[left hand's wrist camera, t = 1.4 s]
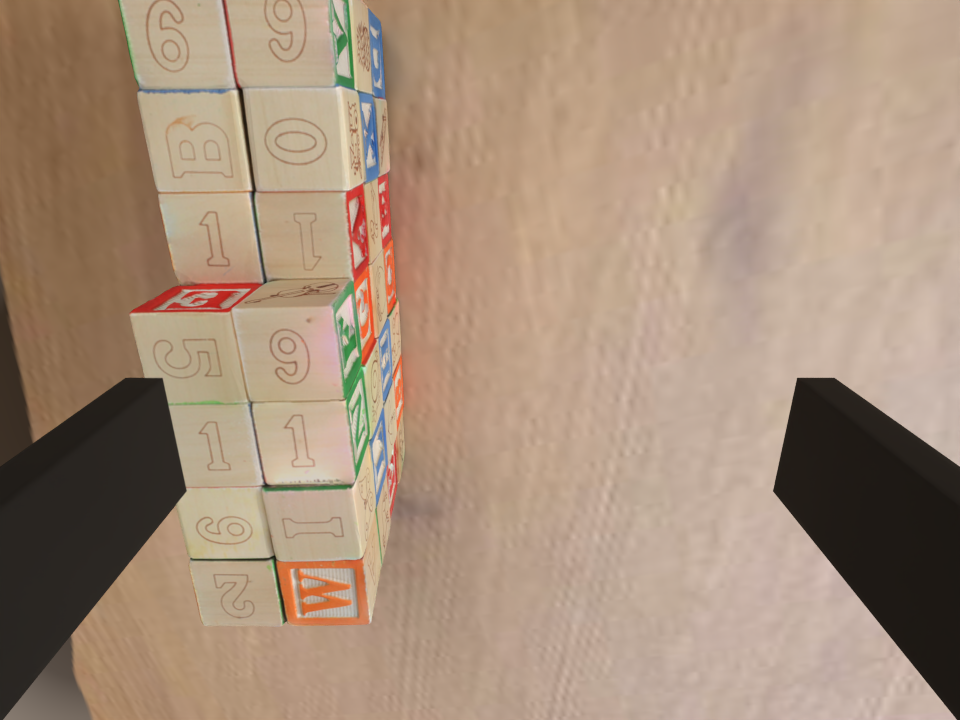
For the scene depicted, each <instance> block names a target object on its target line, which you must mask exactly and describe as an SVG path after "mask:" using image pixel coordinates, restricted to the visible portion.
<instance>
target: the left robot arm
mask: <svg viewBox="0 0 960 720" xmlns="http://www.w3.org/2000/svg"><path fill="white" fill-rule="evenodd" d="M186 492H187V490H186V485H185V480H184V475H183V471H182V466H181V461H180V457H179V452H178V447H177V443H176V438H175V433H174V429H173V424H172V419H171V414H170V410H169V405H168V400H167V396H166V391H165V386H164V382H163V378H125V379H123V380H122V381H121V382H119V383H118V384H116V385H115V386H114V387H112V388H111V389H109V390H108V391H106V392H105V393H104V394H102V395H101V396H99V397H98V398H97V399H95V400H94V401H92V402H91V403H90V404H88V405H87V406H85V407H84V408H82V409H81V410H80V411H78V412H77V413H75V414H74V415H73V416H71V417H70V418H68V419H67V420H66V421H64V422H63V423H61V424H60V425H58V426H57V427H56V428H54V429H53V430H51V431H50V432H49V433H47V434H46V435H44V436H43V437H42V438H40V439H39V440H37V441H36V442H34V443H33V444H32V445H30V446H29V447H27V448H26V449H25V450H23V451H22V452H20V453H19V454H18V455H16V456H15V457H13V458H12V459H10V460H9V461H8V462H6V463H5V464H3V465H2V466H1V467H0V720H3V719H4V718H5V716H6V715H7V714H8V713H9V711H10V710H11V709H12V708H13V706H14V705H15V704H16V703H17V702H18V700H19V699H20V698H21V697H22V695H23V694H24V693H25V692H26V690H27V689H28V688H29V687H30V685H31V684H32V683H33V682H34V680H35V679H36V678H37V677H38V675H39V674H40V673H41V672H42V670H43V669H44V668H45V667H46V666H47V664H48V663H49V662H50V661H51V659H52V658H53V657H54V656H55V654H56V653H57V652H58V651H59V649H60V648H61V647H62V646H63V644H64V643H65V642H66V641H67V639H68V638H69V637H70V636H71V634H72V633H73V632H74V631H75V629H76V628H77V627H78V626H79V625H80V623H81V622H82V621H83V620H84V618H85V617H86V616H87V615H88V613H89V612H90V611H91V610H92V608H93V607H94V606H95V605H96V603H97V602H98V601H99V600H100V598H101V597H102V596H103V595H104V593H105V592H106V591H107V590H108V588H109V587H110V586H111V585H112V584H113V582H114V581H115V580H116V579H117V577H118V576H119V575H120V574H121V572H122V571H123V570H124V569H125V567H126V566H127V565H128V564H129V562H130V561H131V560H132V559H133V557H134V556H135V555H136V554H137V552H138V551H139V550H140V549H141V547H142V546H143V545H144V544H145V543H146V541H147V540H148V539H149V538H150V536H151V535H152V534H153V533H154V531H155V530H156V529H157V528H158V526H159V525H160V524H161V523H162V521H163V520H164V519H165V518H166V516H167V515H168V514H169V513H170V511H171V510H172V509H173V508H174V506H175V505H176V504H177V503H178V502H179V500H180V499H181V498H182V497H183V495H184V494H185V493H186ZM773 492H774V493H775V494H776V495H777V497H778V498H779V499H780V500H781V502H782V503H783V504H784V505H785V507H786V508H787V509H788V510H789V511H790V513H791V514H792V515H793V516H794V518H795V519H796V520H797V521H798V523H799V524H800V525H801V526H802V528H803V529H804V530H805V531H806V533H807V534H808V535H809V536H810V538H811V539H812V540H813V541H814V543H815V544H816V545H817V546H818V547H819V549H820V550H821V551H822V552H823V554H824V555H825V556H826V557H827V559H828V560H829V561H830V562H831V564H832V565H833V566H834V567H835V569H836V570H837V571H838V572H839V574H840V575H841V576H842V577H843V579H844V580H845V581H846V582H847V584H848V585H849V586H850V587H851V588H852V590H853V591H854V592H855V593H856V595H857V596H858V597H859V598H860V600H861V601H862V602H863V603H864V605H865V606H866V607H867V608H868V610H869V611H870V612H871V613H872V615H873V616H874V617H875V618H876V620H877V621H878V622H879V623H880V625H881V626H882V627H883V628H884V629H885V631H886V632H887V633H888V634H889V636H890V637H891V638H892V639H893V641H894V642H895V643H896V644H897V646H898V647H899V648H900V649H901V651H902V652H903V653H904V654H905V656H906V657H907V658H908V659H909V661H910V662H911V663H912V664H913V666H914V667H915V668H916V669H917V670H918V672H919V673H920V674H921V675H922V677H923V678H924V679H925V680H926V682H927V683H928V684H929V685H930V687H931V688H932V689H933V690H934V692H935V693H936V694H937V695H938V697H939V698H940V699H941V700H942V702H943V703H944V704H945V705H946V707H947V708H948V709H949V710H950V711H951V713H952V714H953V715H954V716H955V718H956V719H957V720H960V467H959V466H958V465H957V464H955V463H954V462H952V461H951V460H950V459H948V458H947V457H945V456H944V455H942V454H941V453H940V452H938V451H937V450H935V449H934V448H933V447H931V446H930V445H928V444H927V443H926V442H924V441H923V440H921V439H920V438H918V437H917V436H916V435H914V434H913V433H911V432H910V431H909V430H907V429H906V428H904V427H903V426H902V425H900V424H899V423H897V422H896V421H894V420H893V419H892V418H890V417H889V416H887V415H886V414H885V413H883V412H882V411H880V410H879V409H878V408H876V407H875V406H873V405H872V404H870V403H869V402H868V401H866V400H865V399H863V398H862V397H861V396H859V395H858V394H856V393H855V392H854V391H852V390H851V389H849V388H848V387H846V386H845V385H844V384H842V383H841V382H839V381H838V380H837V379H835V378H797V382H796V386H795V391H794V396H793V400H792V405H791V410H790V414H789V419H788V424H787V429H786V433H785V438H784V443H783V447H782V452H781V457H780V461H779V466H778V471H777V475H776V480H775V485H774V490H773Z"/></svg>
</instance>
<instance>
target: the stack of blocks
mask: <svg viewBox="0 0 960 720" xmlns="http://www.w3.org/2000/svg"><path fill="white" fill-rule="evenodd" d="M118 2H119V6H120V11H121V16H122V20H123V25H124V29H125V34H126V38H127V44H128V49H129V54H130V58H131V63H132V66H133V70H134V76H135V79H136V81H137V84H138V86H139V88H140V89H139V90H138V92H137V99H138V105H139V109H140V113H141V118H142V123H143V128H144V133H145V138H146V143H147V147H148V152H149V156H150V161H151V165H152V171H153V176H154V181H155V185H156V188H157V190H158V192H159V194H158V201H159V208H160V212H161V217H162V222H163V226H164V231H165V235H166V239H167V244H168V248H169V252H170V257H171V261H172V266H173V270H174V272H175V275H176V277H177V279H178V281H179V283H180V286H176V287H173V288H171V289H169V290H167V291H165V292H164V293H162V294H161V295H159V296H158V297H156V298H154V299H152V300H150V301H148V302H146V303H145V304H143V305H141V306H139V307H137V308H136V309H134V310H133V311H131V312H130V313H129V316H130V321H131V325H132V329H133V333H134V337H135V341H136V345H137V349H138V353H139V356H140V360H141V364H142V368H143V373H144V377H145V378H163V382H164V386H165V391H166V396H167V400H168V405H169V410H170V414H171V419H172V424H173V429H174V433H175V438H176V443H177V447H178V452H179V457H180V461H181V466H182V471H183V475H184V480H185V485H186V490H187V492H186V493H185V494H184V495H183V497H182V498H181V499H180V500H179V502H178V503H177V504H176V508H177V512H178V517H179V521H180V525H181V529H182V533H183V537H184V541H185V545H186V549H187V554H188V556H189V557H190V562H189V569H190V574H191V578H192V582H193V587H194V591H195V596H196V600H197V605H198V609H199V614H200V618H201V621H202V623H203V625H205V626H271V627H280V626H282V625H283V624H284V623H285V622H286V621H287V623H288V624H290V625H295V626H322V625H363V624H369V623H371V620H372V615H373V610H374V604H375V599H376V594H377V588H378V582H379V577H380V571H381V567H382V564H383V560H384V555H385V552H386V546H387V541H388V537H389V532H390V527H391V514H392V510H393V505H394V500H395V494H396V490H397V484H399V482H400V479H401V473H402V467H403V461H404V455H405V446H404V426H403V407H404V395H403V377H402V358H401V333H400V315H399V301H398V299H397V297H396V293H395V292H396V284H395V268H394V251H393V239H392V237H391V218H390V202H389V187H388V174H387V173H388V172H389V170H390V154H389V135H388V117H387V102H386V99H385V81H384V63H383V47H382V31H381V23H380V20H379V19H378V18H377V17H376V16H375V15H374V14H373V13H372V12H371V10H370V9H369V8H367V5H366V4H365V3H364V2H363V1H362V0H118Z"/></svg>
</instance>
